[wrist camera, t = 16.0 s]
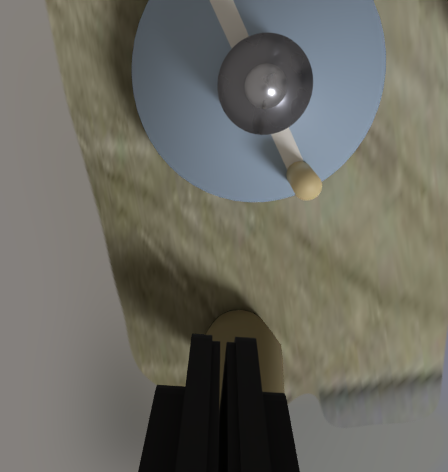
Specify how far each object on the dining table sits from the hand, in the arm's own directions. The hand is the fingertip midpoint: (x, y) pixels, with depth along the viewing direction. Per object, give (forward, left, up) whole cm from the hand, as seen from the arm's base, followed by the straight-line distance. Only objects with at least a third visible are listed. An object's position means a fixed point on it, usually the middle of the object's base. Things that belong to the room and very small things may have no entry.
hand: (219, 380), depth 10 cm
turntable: (-7, +2, -24) cm, 25 cm away
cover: (-7, +2, -22) cm, 23 cm away
